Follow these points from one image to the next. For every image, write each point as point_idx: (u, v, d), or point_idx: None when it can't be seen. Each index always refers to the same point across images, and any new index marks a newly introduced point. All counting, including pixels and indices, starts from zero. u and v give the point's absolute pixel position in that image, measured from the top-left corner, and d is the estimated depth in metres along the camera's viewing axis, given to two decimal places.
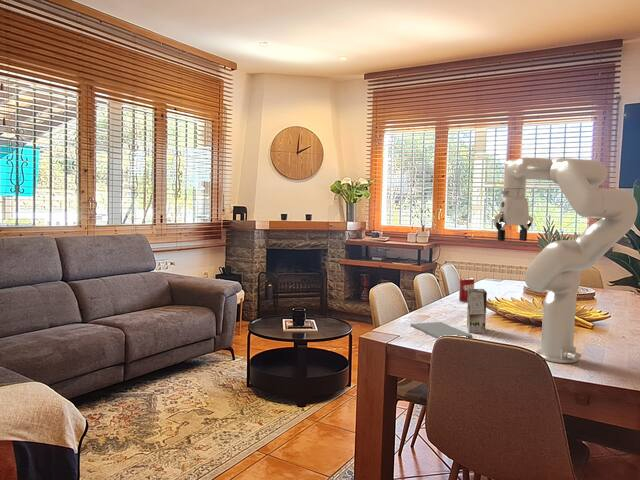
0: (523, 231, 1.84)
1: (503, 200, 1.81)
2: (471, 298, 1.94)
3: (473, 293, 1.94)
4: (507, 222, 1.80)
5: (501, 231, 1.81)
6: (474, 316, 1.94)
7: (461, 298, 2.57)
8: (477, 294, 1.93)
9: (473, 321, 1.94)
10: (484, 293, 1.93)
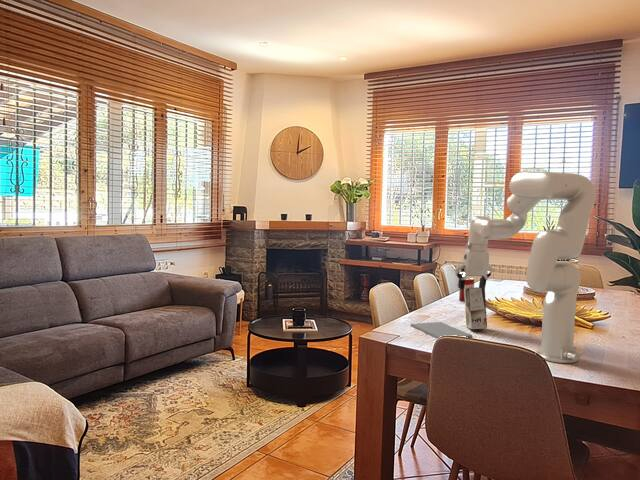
0: (482, 280, 2.02)
1: (466, 253, 1.97)
2: (470, 294, 1.96)
3: (472, 289, 1.96)
4: (467, 274, 1.96)
5: (461, 281, 1.98)
6: (475, 312, 1.95)
7: (461, 298, 2.57)
8: (476, 290, 1.96)
9: (475, 317, 1.95)
10: (482, 288, 1.96)
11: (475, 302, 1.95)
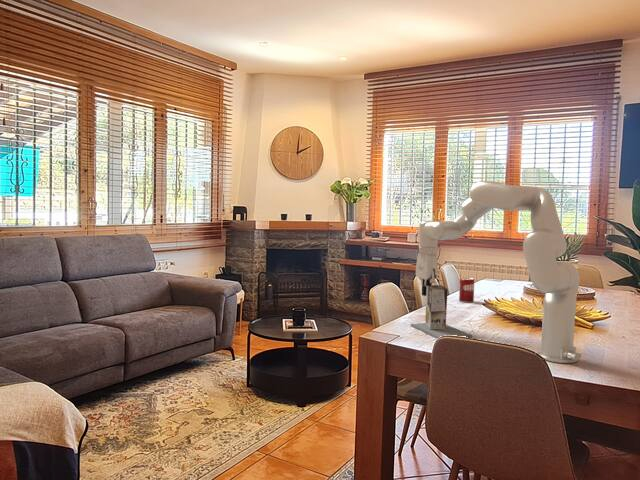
0: None
1: None
2: (432, 295, 1.94)
3: (434, 290, 1.94)
4: None
5: None
6: (435, 313, 1.94)
7: (461, 298, 2.57)
8: (438, 291, 1.94)
9: (434, 318, 1.94)
10: (445, 290, 1.94)
11: (436, 303, 1.94)
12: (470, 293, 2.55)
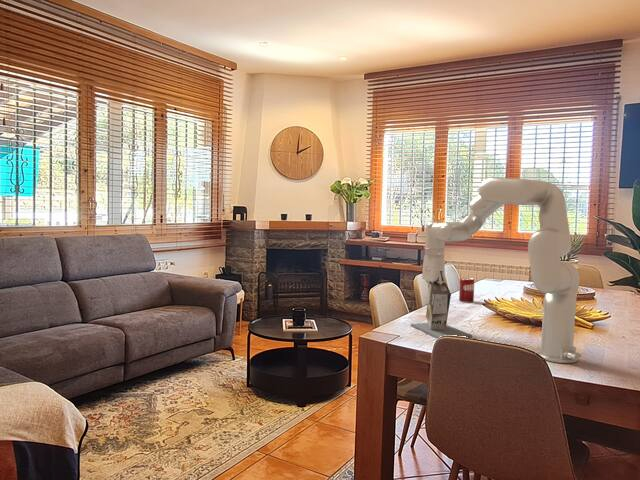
0: None
1: None
2: (435, 299, 1.89)
3: (437, 295, 1.88)
4: (422, 277, 2.03)
5: None
6: (437, 315, 1.92)
7: (461, 298, 2.57)
8: (441, 296, 1.89)
9: (435, 320, 1.93)
10: (448, 295, 1.88)
11: (438, 307, 1.91)
12: (470, 293, 2.55)
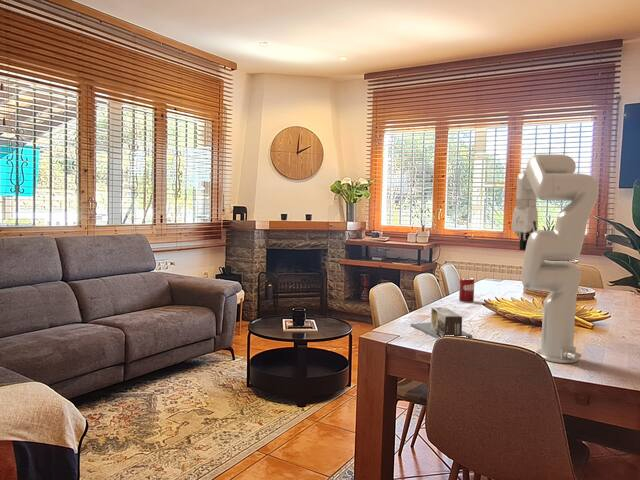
0: None
1: None
2: None
3: None
4: (512, 229, 2.02)
5: None
6: None
7: (461, 298, 2.57)
8: None
9: None
10: None
11: None
12: (470, 293, 2.55)
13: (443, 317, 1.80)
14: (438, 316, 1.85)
